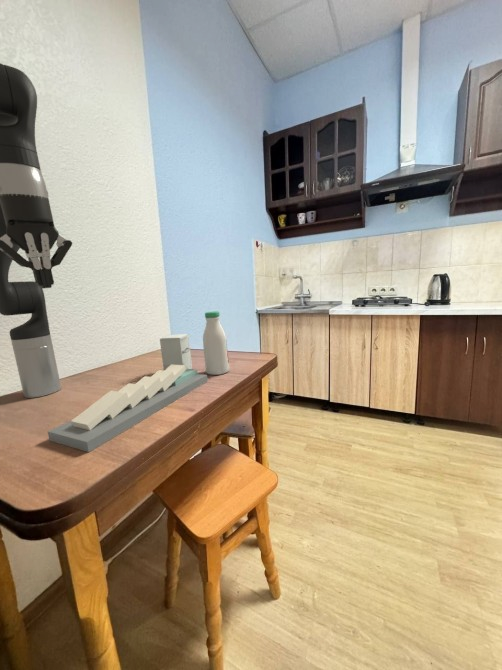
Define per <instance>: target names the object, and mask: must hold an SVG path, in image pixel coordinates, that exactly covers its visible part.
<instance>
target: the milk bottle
mask: <svg viewBox="0 0 502 670" xmlns="http://www.w3.org/2000/svg"><path fill="white" fill-rule="evenodd" d="M204 317H205V329H204V331H203V335H202V343H203V345H202V347H203V355H204V364H205V372H206V375H211V376H217V375H223V374H226V373H228V372H229V371H230V361H229V350H228V343H227V335H226V332H225V330H224V328H223V326H222V325H221V322H220V317H221V316H220V312H219V311H207V312H205V313H204Z"/></svg>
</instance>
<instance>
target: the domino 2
mask: <svg viewBox="0 0 502 670" xmlns="http://www.w3.org/2000/svg"><path fill="white" fill-rule="evenodd" d="M144 391H145V387H144V385H139V384H136V383H127V384H125V385H124V386H123V387H122V388H121V389H119V390H118V392H125V393H127V395H128V399H127V400H125V401H124V402H123V403H122V404H121V405H119V406H118V407H117V408H116V409H115V410H114V411H112V412H111V413H110V414H109V415H108V416H106V417H105V418H110V419H113V418H114V417H115V416H116V415H117V414H119V413H120V412H121V411H122V410H123V409H124V408H125V407H127V406H128V405H129V404H130V403H131V402H132V401H133V400H135V399H136V398H137V397H138V396H139V395H140V394H141V393H143V392H144Z"/></svg>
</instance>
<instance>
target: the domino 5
mask: <svg viewBox="0 0 502 670" xmlns="http://www.w3.org/2000/svg"><path fill="white" fill-rule="evenodd" d="M185 370H186V367H185V365H172V364H171V365H170V366H169V367H168V368H167V369H166V370H165V371H173V373H174V376H173V377H172V378H171V379H170V380H169V381H168V382H167V383H166V384H165V385H164V386H163V387H162V388H161V389H160V390H159V391H165V390H166V389H167V388H168V387H169V386H170V385H171V384H172V383H173V382H174V381H175V380H176V379H177V378H178V377H179V376H180V375H181V374H182V373H183V372H184V371H185Z"/></svg>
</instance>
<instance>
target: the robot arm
mask: <svg viewBox="0 0 502 670" xmlns="http://www.w3.org/2000/svg"><path fill="white" fill-rule="evenodd" d="M37 110H38V94H37V91H36V88H35V86H34V84H33V82H32V80H31V79H30V78H29V76H28V75H27V74H26V73H25V72H24V71H23V70H21V69H19V68H16V67H12V66H10V65H6V64H3V63H0V315H2V316H17V315H19V316H20V315H28V314H31V317H30V318H29V319H28V320H27V321H26V322H24V323H22V324H20V325H18V326H14V327H13V328H11V329H10V330H9V336H10V341H11V345H12V350H13V354H14V358H15V362H16V363H15V364H16V367H17V371H18V376H19V381H20V384H21V389H22V394H23V397H24V398H27V399H29V398H30V399H31V398H38V397H44V396H48V395H52V394H54V393H56V392H58V391H59V390H61V389H62V385H61V381H60V375H59V370H58V365H57V360H56V355H55V351H54V346H53V341H52V337H51V331H50V324H49V323H50V322H49V319H48V318H49V317H48V312H47V305H46V298H45V297H46V295H45V293H44V290H43V289H52V286H53V285H54V284H55V280H54V275H53V272H52V269H53V268H54V267H57V266H60V265H61V263H62V262H63V260H64V259H65V258H66V257H65V256H66V255H67V254H68V252H69V250H70V249H71V248H72V246H73V242H72V241H71V240H70V239H66V238H63V237H62V236H61V235H60V234H59V230H58V229H57V228H56V226H55V223H54V218H53V213H52V209H51V204H50V203H51V202H50V200H49V192H48V190H47V189H48V188H47V185H46V182H45V179H44V176H43V173H42V169H41V165H40V161H39V156H38V151H37V146H36V145H37V144H36V120H37V119H36V118H37ZM55 244H56V247H57V249H56V250H55V251H54V253H53V255H52V256H51V250H52V248H53V247H54V245H55ZM20 249H21V250H22V251H24V253H25V256H26V258H27V259H28V260H27V259H26V258H24V257H23V255H21V254H20V253H19V250H20ZM13 261H14V262H15V263H16V264H17V265H19V266H20V267H23V268H29V269H30V270H32V274H33V277H34V281H33V280H32V281H30V280H29V281H28V280H27V281H9V274H10V268H11V265H12V262H13Z"/></svg>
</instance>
